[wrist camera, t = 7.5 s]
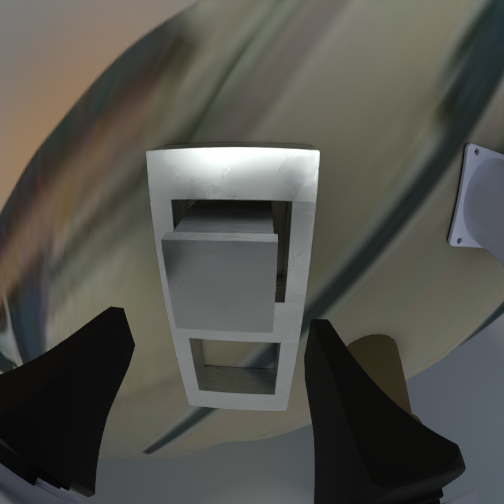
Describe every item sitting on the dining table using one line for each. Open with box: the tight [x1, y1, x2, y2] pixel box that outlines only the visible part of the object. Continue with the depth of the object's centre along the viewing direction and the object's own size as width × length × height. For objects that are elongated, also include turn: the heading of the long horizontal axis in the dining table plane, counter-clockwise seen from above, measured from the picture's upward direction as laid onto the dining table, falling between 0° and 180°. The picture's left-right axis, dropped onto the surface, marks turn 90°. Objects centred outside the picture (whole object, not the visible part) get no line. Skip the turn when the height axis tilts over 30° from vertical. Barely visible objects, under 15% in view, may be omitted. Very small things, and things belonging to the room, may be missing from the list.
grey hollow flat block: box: [146, 142, 320, 411], centre depth 20 cm, size 9×22×3 cm, turn 179°
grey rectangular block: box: [161, 199, 278, 333], centre depth 16 cm, size 5×5×7 cm
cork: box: [347, 334, 422, 424], centre depth 19 cm, size 6×6×11 cm
